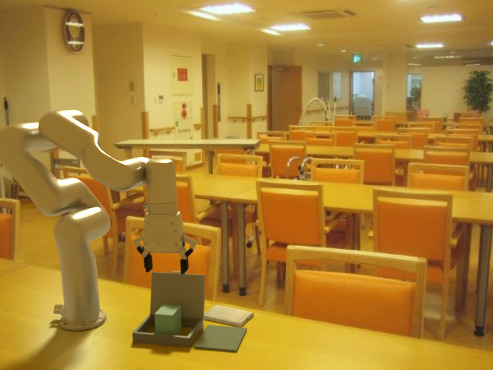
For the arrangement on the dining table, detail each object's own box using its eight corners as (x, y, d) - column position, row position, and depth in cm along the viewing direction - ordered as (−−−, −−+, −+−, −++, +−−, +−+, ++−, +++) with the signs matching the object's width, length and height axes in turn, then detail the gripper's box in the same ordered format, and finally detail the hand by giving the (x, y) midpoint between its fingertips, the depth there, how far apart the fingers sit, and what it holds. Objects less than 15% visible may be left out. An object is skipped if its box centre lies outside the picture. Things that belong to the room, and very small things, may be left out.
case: (132, 341, 132) (132, 332, 132) (150, 322, 144) (149, 313, 143) (189, 347, 129) (189, 338, 129) (203, 326, 140) (203, 317, 140)
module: (156, 338, 134) (154, 313, 133) (164, 328, 140) (163, 304, 139) (174, 340, 133) (172, 315, 132) (181, 329, 139) (180, 305, 137)
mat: (194, 347, 129) (194, 346, 129) (207, 326, 140) (207, 324, 140) (236, 351, 126) (236, 350, 126) (246, 329, 138) (246, 328, 138)
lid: (151, 270, 144) (153, 269, 145) (149, 314, 143) (151, 313, 144) (204, 273, 140) (206, 272, 142) (202, 318, 139) (204, 317, 141)
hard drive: (201, 315, 145) (240, 323, 140) (216, 304, 152) (253, 311, 147) (202, 320, 145) (240, 328, 140) (216, 309, 153) (253, 316, 147)
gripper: (124, 210, 128) (129, 275, 131) (190, 212, 124) (193, 278, 128) (137, 203, 135) (141, 265, 139) (199, 205, 132) (202, 268, 135)
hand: (166, 271), depth 133 cm, fingers open, 9 cm apart
